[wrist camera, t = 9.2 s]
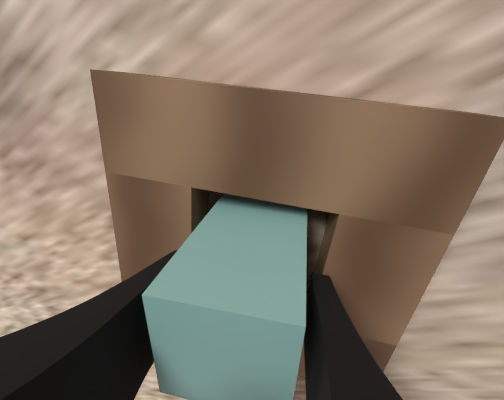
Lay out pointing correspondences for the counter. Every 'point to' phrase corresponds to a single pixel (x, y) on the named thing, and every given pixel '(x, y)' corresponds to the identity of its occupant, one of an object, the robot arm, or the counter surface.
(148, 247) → the walnut socket block
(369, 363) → the robot arm
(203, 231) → the teal peg
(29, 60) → the counter surface
